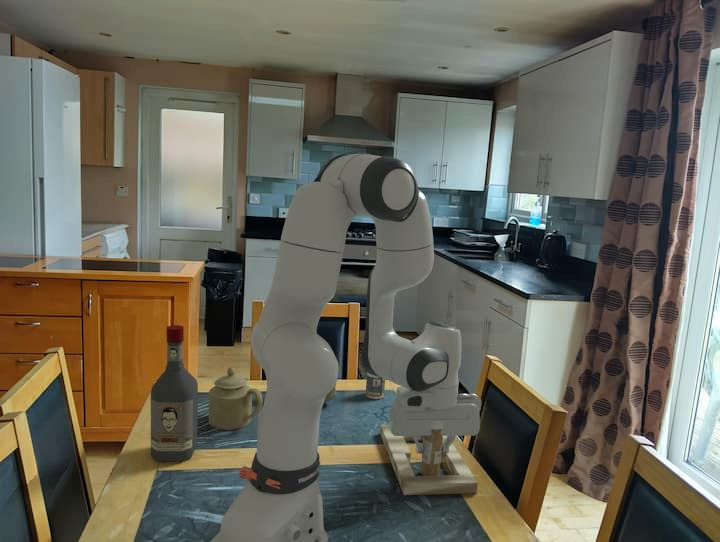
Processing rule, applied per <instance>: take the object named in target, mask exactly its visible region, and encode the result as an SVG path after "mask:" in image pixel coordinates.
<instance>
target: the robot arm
mask: <svg viewBox="0 0 720 542" xmlns="http://www.w3.org/2000/svg"><path fill="white" fill-rule="evenodd" d="M418 186H419V185H418V181H417V177H416V175H415V172H414V171H413V169H412V167H410V165H409V164H408V163H406V162H405V161H403V160H401V159H399V158H395V157H393V156H384V155H383V156H380V155H374V154H371V153H353V154H347V153H344V154H343V153H342V154H339V155H336V156H334V157H332V158H330V159H328V160H327V161H326V162H324V163H323V165H322V166H321V167H320V169H319V171H318V173H317V175H316V178H314V180H313V181H310V182H307V183H304V184H302V185H301V186H299V187H298V188H297V189H296V190H295V192H294V195H293V197H292V199H291V202H290V205H289V208H288V211H287V214H286V217H285V221H284V225H283V228H282V232H281V237H280V242H279V248H278V253H277V258H276V261H275V268H274V273H273V277H272V282H271V287H270V290H269V293H268V294H267V298H266V300H265V303H264V306H263V308H262V311H261V313H260V316H259V319H258V321H257V322H256V323H255V325H254V326H253V329H252V331H251V335H250V344H251V350H252V353H253V357H254V359H255V360H256V362H257V363H258V364H259V366H260V367H261V368H262V369H263V371H264V374H265V378H266V392H265V395H264V396H265V397H264V399H263V403H262V407H261V409H260V411H259V413H258V414H257V429H256V430H257V431H256V432H257V433H256V434H257V435H256V452H255V454H254V456H253V459H252V461H251V462H252V463H251V467H250V468H249V467H248V466H245V465H244V466H242V467H241V468H240V471H239V473H238V476H239V478H241V479H242V480H243V479H245V480H246V481H247V482H246V483H245V485H244V486H243V488H242V489H241V490H240V492H239V493H238V494H237V496H236V498H235V499H234V500H233V502H232V503H231V505H230V506H229V508H228V509H227V511H226V512H225V514H224V515H223V517H222V520H221V523H220V528H219V529H220V530H219V531H218V533H217V534H216V535H215V536H214V537H213V538H212V539H211V540H210V541H209V542H329V537H328V536H329V535H328V533H327V532H326V530H325V529H324V508H323V507H324V506H323V503H324V502H323V495H322V493H321V490H320V485H319V481H318V479H319V477H320V468H321V461H320V458H321V457H320V453H319V449H318V448H319V435H320V433H319V432H320V420H321V414H322V409H323V405H324V404H325V403H324V400H325V397H326V395H327V394H328V393H329V392H330V391H331V390H332V389H333V387H334V386H335V384H336V385H337V381H338V379H339V376H340V375H339V373H340V366H339V362H338V360H337V359H338V358H337V357H336V355H335V353H334V350H333V349H332V347H331V345H330V344H329V343H328V342H327V341H326V340H325V339H324V338H323V337H321V336H320V335H319V334H318V333H317V329H318V328H317V327H318V325H319V324H318V323H319V321H320V318H321V316H322V314H323V312H324V310H325V308H326V306H327V305H328V303H329V302H331V301H332V299H333V298H334V297H335V294H336V291H337V285H338V281H339V276H340V270H341V266H342V261H343V256H344V250H345V244H346V238H347V232H348V229H349V227H350V225H351V223H352V222H353V220H355V218H356V216H357V217H363V218H371V219H372V222H373V223H374V226H375V239H376V240H375V241H376V242H375V243H376V244H375V245H376V260H375V265H374V266H373V267H372V268H371V270H370V272H369V276H368V280H367V286H366V287H367V288H366V305H365V308H366V309H365V312H366V313H365V330H364V331H365V333H364V338H363V342H362V347H361V355H360V359H361V364H362V366H363V369H364V370H365V371H366V373H367V372H368V373H369V374H371V375H373V376H377V377H380V378H383V379H385V381H389V382H391V383H393V384H395V385H398V386H399V387H397V388H396V391H395V392H396V398H395V400H394V401H393V402H392V405H391V408H390V413H389V417H388V418H389V420H388V425H389V429H390V431H391V433H392V434H393V435H394V436H412V437H413V439H414V441H413V442H415V453H416V454H417V455H419V454H422V453H424V451H423V450H424V445H423V442H420V441H418V440H420V436H430V435H431V433H432V431H431V430H432V429H430V427H431V422H432V421H442V422H443V429H441V430H442V431H441V436H447V439H446V440H445V442H444V443H442V453H448V452H449V446H450V445H451V444H452V443H454V441H455V440H456V436H457V437H459V436H460V437H462V436H473V437H474V436H477V435H478V433H479V432H480V429H481V428H480V424H481V422H480V411H481V409H482V408H481V407H482V399H481V398H480V396H478V395H476V393H459V383H460V380H459V375H458V373H459V369H460V367H461V362H462V350H463V349H462V346H463V345H462V343H463V342H462V335H461V331H460V329H459V328H458V327H457V326H455V325H452V324H450V323H446V322H442V321H436V320H435V321H433V320H432V321H428V322H426V323H425V326H424V330H423V331H422V333H420V335H419V336H417V337H416V338H414V339H412V340H411V339H407V338H404V337H402V336H399V335H398V334H397V333H396V331H395V329H394V326H393V323H394V312H395V311H394V309H395V307H394V306H395V297H396V295H397V293H398V292H400V291H404V290H406V289H407V290H408V289H411V288H413V287H416V286H417V285H420V284H421V283H422V282H424V281H426V279H427V278H428V277H429V275H430V274H431V273H432V270H433V269H434V268H433V267H434V261H435V247H434V235H433V234H434V233H433V224H432V218H431V217H432V216H431V214H430V208H429V204H428V200H427V197H426V195H425V194H424V193H423V192H422V190H420V189H419V187H418ZM335 387H336V386H335Z"/></svg>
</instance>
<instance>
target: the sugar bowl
mask: <svg viewBox="0 0 720 542" xmlns="http://www.w3.org/2000/svg"><path fill="white" fill-rule="evenodd" d="M226 374H227V375H224V376H221V377H219V378H218V379H215V380H214V381H213V384H214V386H213V387H211V388H210V389H209V391H208V424H209V425H210V426H211V427H212V428H214V429H217V430H223V431H231V430H232V431H233V430H238V429H243V428H245V427H246V426H248V425H249V424H250V423H251V422H252V418H255V417H256V416H258V414H259V412H260V410H261V409H262V408H263V403H264V399H263V395H262V392H261V391H260V390H259V389H258V388H255V387H250V386H249V385H247V384H248V381H247V380H246V379H245V378H243V377H241V376H239V375H236V374H235V369H234V367H233V366H230V367H228V368H227V372H226ZM253 395H254V396H255V400H256V404H255V408H254V411H252V406H253V404H252V403H253Z"/></svg>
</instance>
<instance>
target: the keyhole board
mask: <svg viewBox="0 0 720 542" xmlns="http://www.w3.org/2000/svg"><path fill="white" fill-rule="evenodd" d="M379 426H380V427H379V429H380V430H379V434H380V437H381V440H382V442H383V445H384V448H385V451H386V452H387V455H388V459H389V461H390V463H391V466H392V469H393V471H394V474H395V477H396V479H397V481H398V484H399V486H400V489H401V492H402V494H403V496H419V495H420V496H422V495H423V496H424V495H425V496H427V495H457V494H458V495H462V494H477V491H478V480H477V479H476V477H475V476H474V474H473V473H472V471H471V470H470V468H469V467H468V465H467V464H466V461H465V460H464V459H463V458H462V456H461V454H460V453H459V451H458V450H457V448H456V447H455V445H454V444H453V443H454V442H453V443H452V444H451V445H450V446H449V452H448V453H442V454H441V463H445V464H446V466H447V468H448V470H449V472H450V473H451V474H450V475H439V476H424V475H415V473H414V471H413V469H412V466H411V464H410V463H411V458H412V453H411V452H412V451H410V448H409V446H408V444H407V442H408V441H410V442H411V441H412V442H415V441H414V439H413V437H412V436H394V435H393V434H392V433H391V431H390V429H389V424H380V425H379ZM423 437H424V436H420V440H418V442H420V441H421V442H423ZM446 439H447V436H443V440H442V443H444V442H445V440H446Z"/></svg>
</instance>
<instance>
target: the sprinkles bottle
mask: <svg viewBox="0 0 720 542" xmlns="http://www.w3.org/2000/svg"><path fill="white" fill-rule="evenodd" d="M430 429H432V430H431V431H432V433H431V435H430V436H424V437H423V441H422V443H423V445H424V450H423V451H424V453H421V468H420V470H419V471H420V474H421V476H441V463H442V462H441V454H442V440H443V436H441V431H442V430H441V429H443V422H442V421H432V422H431V427H430Z"/></svg>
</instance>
